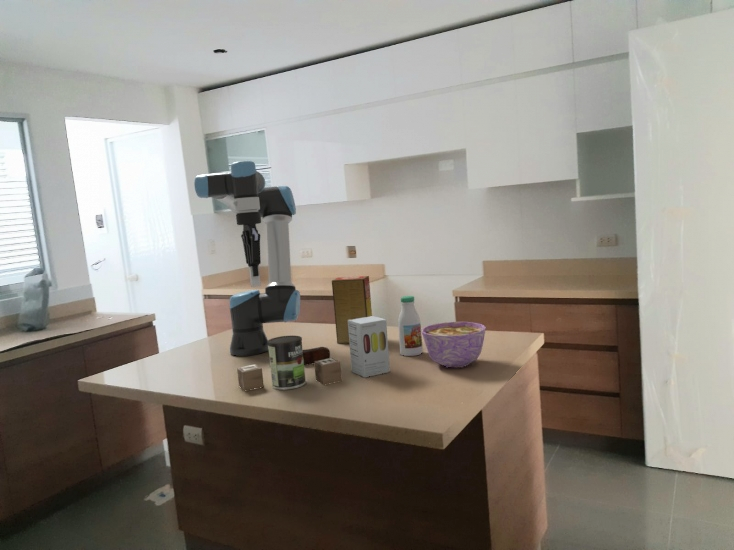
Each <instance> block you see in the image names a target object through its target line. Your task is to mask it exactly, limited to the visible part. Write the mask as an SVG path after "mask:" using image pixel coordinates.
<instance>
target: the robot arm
mask: <svg viewBox="0 0 734 550" xmlns="http://www.w3.org/2000/svg"><path fill="white" fill-rule="evenodd" d="M193 186H194V191H195V194H196V196H197V197H199V198H201V199H208V198H212V199H215V200H216V201H218V202H220V203H222V204H223V205H225V206H227V207H228V209H229V210H230V211H231V212H233V213H235V217H236V224H237V226H242V227H243V229H242V234H240V237H241V240H242V245H243V246H242V247H243V251H244V256H245V257H244V258H245V262H246V264H247V265H248V271H249V280H250V281H249V282H250V287H251V288H255V287H261V276H260V267H259V266H260V265H261V263H262V262H261V233H259V230H258V229H257V224H261V223H262V221H263V222H264V223H265V224H266V239H267V241H266V242H267V245H266V246H267V269H268V284H267V285H266V286H265V288H264V289H265V292H263V293H261V291H260V290H259V289H253V290H252V289H251V290H246V291H242V292H239V293H236V294H233V295H232V296H230V298H229V312H230V319H231V328H232V329H231V330H232V337H231V341H230V345H229V354H230V355H231V356H234V355H236V357H245V356H246V357H247V356H254V355H260V354H262V353H266V352H269V348H268V343H267V341H268V340H269V339H268V337H267V335H266V333H265V331H264V324H271V323H287V322H294V321H296V320H297V319H298V317H299V314H300V309H301V292H300V290H297V289H296V285H295V284H293V283H292V282H293V281H292V271H291V270H292V269H291V266H292V265H291V248H290V229H289V226H290V225H289V224H290V222H292V221H293V216H294V215H296V214H297V209H296V204H295V199H294V195H293V192H292V189H291V188H290V187H289V186H288V185H280V186H279V185H277V186H268V187H267V186H266V178H265V177H264V175H263V174H262V173H260V171H257V168H256V163H255V161H252V160H241V161H234V162H232V163H231V164H230V172H219V173H205V174H198V175H196V176H195V179H194V185H193Z"/></svg>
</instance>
